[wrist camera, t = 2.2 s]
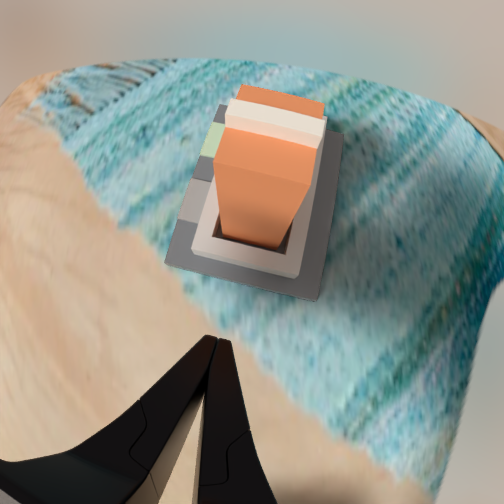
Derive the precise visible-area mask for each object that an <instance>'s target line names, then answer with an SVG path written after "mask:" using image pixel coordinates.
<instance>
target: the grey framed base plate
mask: <svg viewBox="0 0 504 504" xmlns="http://www.w3.org/2000/svg"><path fill="white" fill-rule="evenodd" d="M227 107H228V106H226V105H219V108H218V110H217V113H216V115H215V118H214V120H213V122H212V123H211V126H210V128H209V131H208V133H207V136H206V138H205V141H204V144H203V146H202V149H201V152H200V156H199V159H198V162H197V165H196V167H195V170H194V173H193V176H192V178H191V179H190V182H189V185H188V188H187V190H186V193H185V196H184V199H183V202H182V205H181V208H180V211H179V214H178V217H177V219H178V220H177V223H176V226H175V229H174V232H173V235H172V239H171V242H170V245H169V248H168V252H167V255H166V258H165V262H164V263H165V264H167V265H169V266H173V267H177V268H181V269H184V270H188V271H192V272H196V273H199V274H203V275H207V276H211V277H215V278H219V279H223V280H227V281H231V282H235V283H239V284H243V285H247V286H251V287H255V288H259V289H263V290H267V291H271V292H275V293H279V294H284V295H288V296H292V297H296V298H300V299H305V300H309V301H313V302H314V301H317V298H318V294H319V289H320V284H321V279H322V274H323V268H324V263H325V258H326V252H327V247H328V241H329V235H330V230H331V224H332V217H333V211H334V205H335V198H336V192H337V185H338V178H339V170H340V163H341V155H342V147H343V138H344V134H341V133H338V132H334V131H331V130H328V129H326V123H327V117H326V116H323V117H322V120H325V123H324V130H323V136H322V139H321V141H320V143H319V146H318V148H317V152H316V158H315V164H314V169H313V175H312V180H311V186H310V188H309V189H308V191H307V193H306V195H305V197H304V199H303V201H302V203H301V205H300V207H299V209H298V211H297V213H296V214H295V216H294V218H293V220H292V222H291V224H290V226H289V228H288V230H287V232H286V234H285V235H284V237H283V239H282V241H281V243H280V245H279V247H278V249H277V250H274V249H270V248H266V247H262V246H258V245H254V244H250V243H246V242H242V241H238V240H234V239H230V238H225V237H223V234H222V227H221V220H220V213H219V205H218V198H217V190H216V183H215V175H214V167H213V160H214V157H215V154H216V151H217V149H218V146H219V143H220V140H221V137H222V135H223V132H224V129H225V112H226V110H227Z"/></svg>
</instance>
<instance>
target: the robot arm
mask: <svg viewBox="0 0 504 504" xmlns="http://www.w3.org/2000/svg"><path fill="white" fill-rule="evenodd" d="M203 397H204V399H203ZM202 400H203V406H202V414H201V423H200V431H199V440H198V449H197V458H196V468H195V478H194V488H193V498H192V504H278V503H277V501H276V499H275V497H274V495H273V492H272V490H271V488H270V486H269V483H268V481H267V479H266V476H265V474H264V471H263V469H262V466H261V464H260V461H259V458H258V456H257V452H256V449H255V445H254V442H253V438H252V433H251V431H250V425H249V421H248V417H247V412H246V408H245V404H244V399H243V395H242V390H241V386H240V381H239V376H238V372H237V367H236V362H235V358H234V353H233V348H232V343H231V341H230V340H226V339H222V338H219V339H218V338H217V337H215V336H211V335H204V336H203V337H202V338H201V339H200V340H199V341H198V342H197V343H196V344H195V345H194V346H193V347H192V348H191V349H190V350H189V351H188V352H187V353H186V354H185V355H184V356H183V357H182V358H181V359H180V360H179V361H178V362H177V363H176V364H175V365H174V366H173V367H172V368H171V369H170V370H168V371H167V372H166V373H165V374H164V375H163V376H162V377H161V378H160V379H159V380H158V381H157V382H156V383H155V384H154V385H153V386H152V387H151V388H150V389H149V390H148V391H147V392H146V393H145V394H143V395H142V396H141V397H140V400H137V401H136V402H135V403H134V404H133V405H132V406H131V407H130V408H128V409H127V410H126V411H125V412H124V413H123V414H122V415H120V416H119V417H118V418H117V419H115V420H114V421H113V422H111V423H110V424H109V425H107V426H106V427H104V428H103V429H101V430H100V431H98V432H97V433H96V434H94V435H93V436H91V437H90V438H88V439H87V440H85V441H84V442H82V443H81V444H79V445H78V446H76V447H74V448H72V449H70V450H68V451H65V452H62V453H58V454H54V455H49V456H44V457H40V458H34V459H29V460H24V461H18V462H9V461H4V460H1V459H0V504H158V503H159V500H160V498H161V496H162V494H163V491H164V489H165V487H166V484H167V482H168V480H169V477H170V475H171V473H172V470H173V468H174V466H175V463H176V461H177V459H178V456H179V454H180V452H181V449H182V447H183V445H184V442H185V440H186V438H187V435H188V433H189V431H190V428H191V426H192V424H193V421H194V419H195V417H196V414H197V412H198V409H199V407H200V405H201V402H202Z"/></svg>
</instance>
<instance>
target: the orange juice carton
mask: <svg viewBox="0 0 504 504" xmlns="http://www.w3.org/2000/svg"><path fill="white" fill-rule="evenodd" d="M323 110H324V103H320V102H317V101H313V100H310V99H306V98H302V97H298V96H294V95H290V94H286V93H282V92H277V91H273V90H268V89H263V88H259V87H254V86H248V85H243V84H242V85H241V87H240V90H239V92H238V95H237V97H236V99H232V98H231V100H230V102H229V105H228V107H227V110H226V112H225V129H224V132H223V135H222V137H221V140H220V143H219V146H218V149H217V151H216V154H215V157H214V160H213V167H214V175H215V183H216V190H217V198H218V205H219V213H220V220H221V227H222V234H223V237H225V238H230V239H234V240H238V241H242V242H246V243H250V244H254V245H258V246H262V247H266V248H270V249H274V250H277V249H278V247H279V245H280V243H281V241H282V239H283V237H284V235H285V234H286V232H287V230H288V228H289V226H290V224H291V222H292V220H293V218H294V216H295V214H296V213H297V211H298V209H299V207H300V205H301V203H302V201H303V199H304V197H305V195H306V193H307V191H308V189H309V188H310V186H311V180H312V175H313V169H314V164H315V158H316V152H317V148H318V146H319V143H320V141H321V139H322V136H323V130H324V123H325V120H322V117H323Z"/></svg>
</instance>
